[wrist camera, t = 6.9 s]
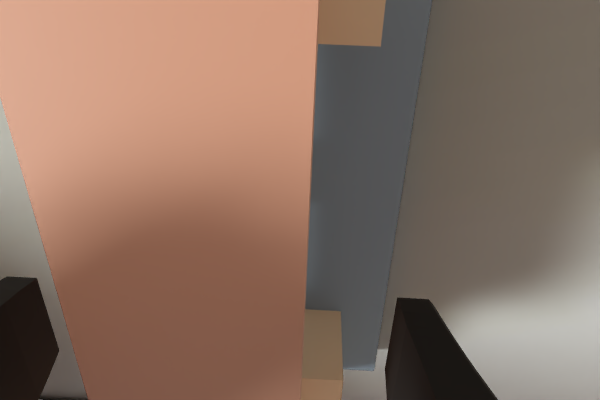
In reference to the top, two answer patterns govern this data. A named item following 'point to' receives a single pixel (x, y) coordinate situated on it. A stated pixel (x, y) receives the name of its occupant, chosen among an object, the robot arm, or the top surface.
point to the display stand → (357, 178)
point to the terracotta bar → (170, 185)
